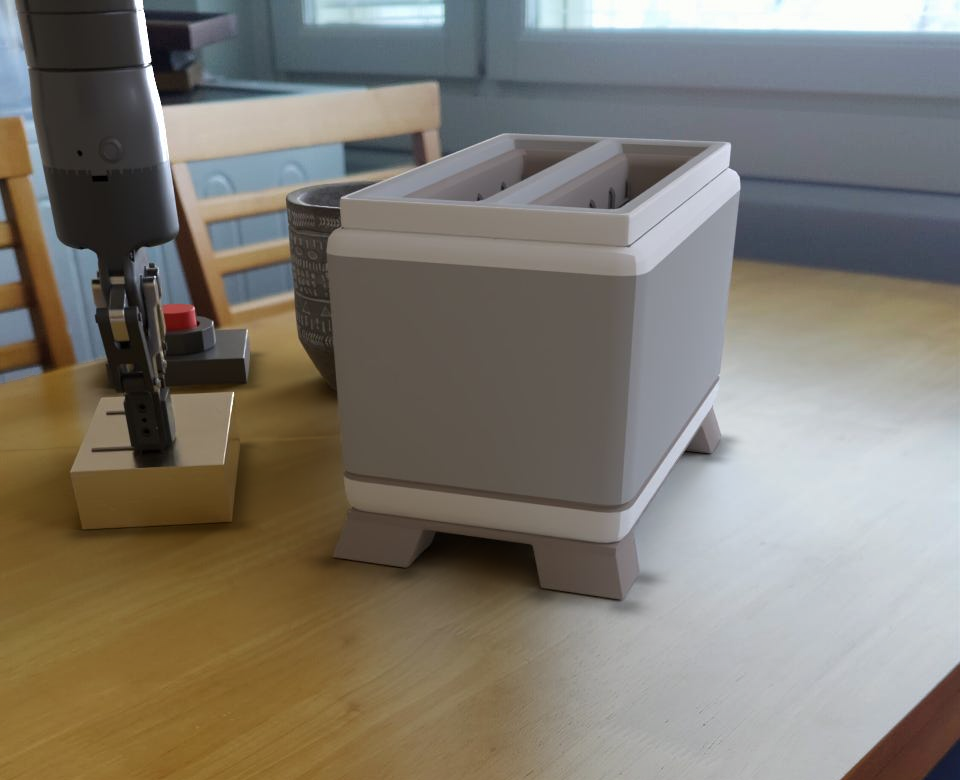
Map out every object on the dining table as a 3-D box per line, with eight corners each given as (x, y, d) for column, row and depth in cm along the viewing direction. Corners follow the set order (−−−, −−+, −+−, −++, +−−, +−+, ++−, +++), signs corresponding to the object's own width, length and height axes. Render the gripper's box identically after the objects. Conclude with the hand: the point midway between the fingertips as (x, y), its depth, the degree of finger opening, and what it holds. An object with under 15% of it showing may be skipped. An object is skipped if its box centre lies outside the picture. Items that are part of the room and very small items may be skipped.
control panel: (82, 529, 82) (69, 470, 79) (111, 449, 94) (100, 396, 92) (231, 522, 83) (223, 462, 80) (240, 443, 95) (233, 390, 93)
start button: (154, 335, 108) (151, 314, 106) (158, 324, 110) (155, 304, 109) (195, 333, 108) (192, 312, 107) (198, 323, 111) (195, 302, 110)
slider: (131, 447, 82) (122, 402, 81) (135, 432, 85) (127, 389, 83) (172, 445, 83) (165, 400, 81) (176, 431, 85) (169, 387, 83)
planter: (432, 352, 115) (427, 175, 106) (483, 394, 105) (482, 201, 96) (286, 368, 112) (268, 185, 103) (324, 413, 101) (307, 214, 92)
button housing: (110, 389, 107) (101, 342, 104) (123, 358, 115) (115, 313, 112) (247, 383, 108) (241, 336, 105) (250, 352, 116) (245, 308, 113)
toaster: (729, 425, 98) (763, 134, 86) (623, 600, 72) (649, 222, 60) (504, 401, 103) (506, 124, 91) (332, 557, 78) (301, 201, 65)
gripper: (59, 140, 78) (110, 410, 89) (20, 174, 67) (84, 479, 78) (177, 137, 79) (214, 406, 90) (157, 171, 68) (202, 473, 79)
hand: (153, 438), depth 84 cm, fingers closed on slider, 3 cm apart
